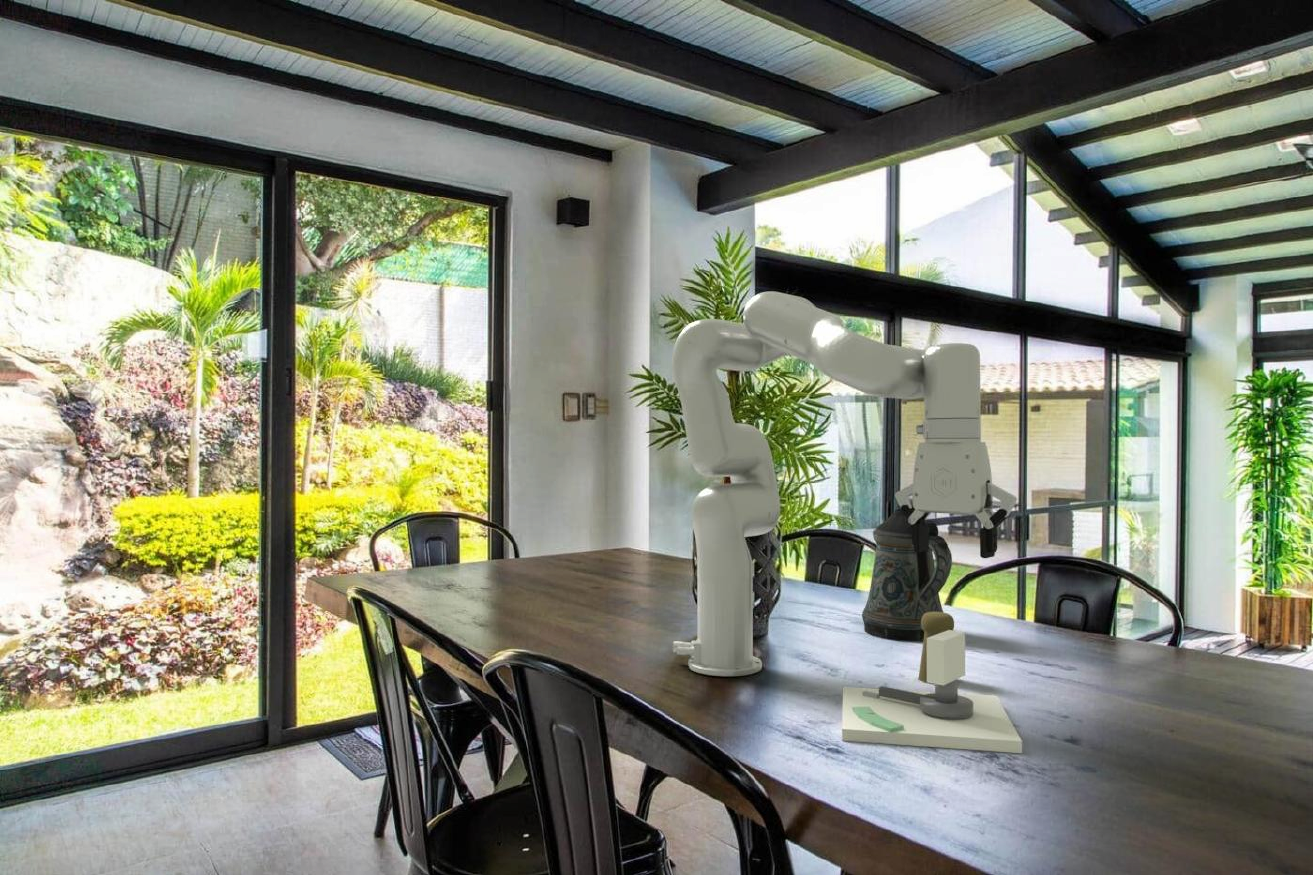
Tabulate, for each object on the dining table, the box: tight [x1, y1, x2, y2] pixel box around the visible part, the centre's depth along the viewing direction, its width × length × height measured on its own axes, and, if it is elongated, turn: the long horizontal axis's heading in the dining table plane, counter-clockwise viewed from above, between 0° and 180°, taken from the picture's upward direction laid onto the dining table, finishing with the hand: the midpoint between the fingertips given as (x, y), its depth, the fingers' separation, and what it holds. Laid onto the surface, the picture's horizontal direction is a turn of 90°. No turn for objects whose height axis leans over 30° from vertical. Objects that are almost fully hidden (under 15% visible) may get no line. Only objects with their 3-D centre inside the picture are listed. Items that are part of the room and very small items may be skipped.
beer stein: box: [861, 509, 953, 642], centre depth 178 cm, size 16×19×25 cm
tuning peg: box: [878, 630, 973, 719], centre depth 123 cm, size 14×7×10 cm, turn 48°
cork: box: [918, 611, 955, 685], centre depth 143 cm, size 6×6×11 cm
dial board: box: [841, 686, 1023, 754], centre depth 121 cm, size 22×20×2 cm
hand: (953, 554), depth 123 cm, fingers open, 9 cm apart
